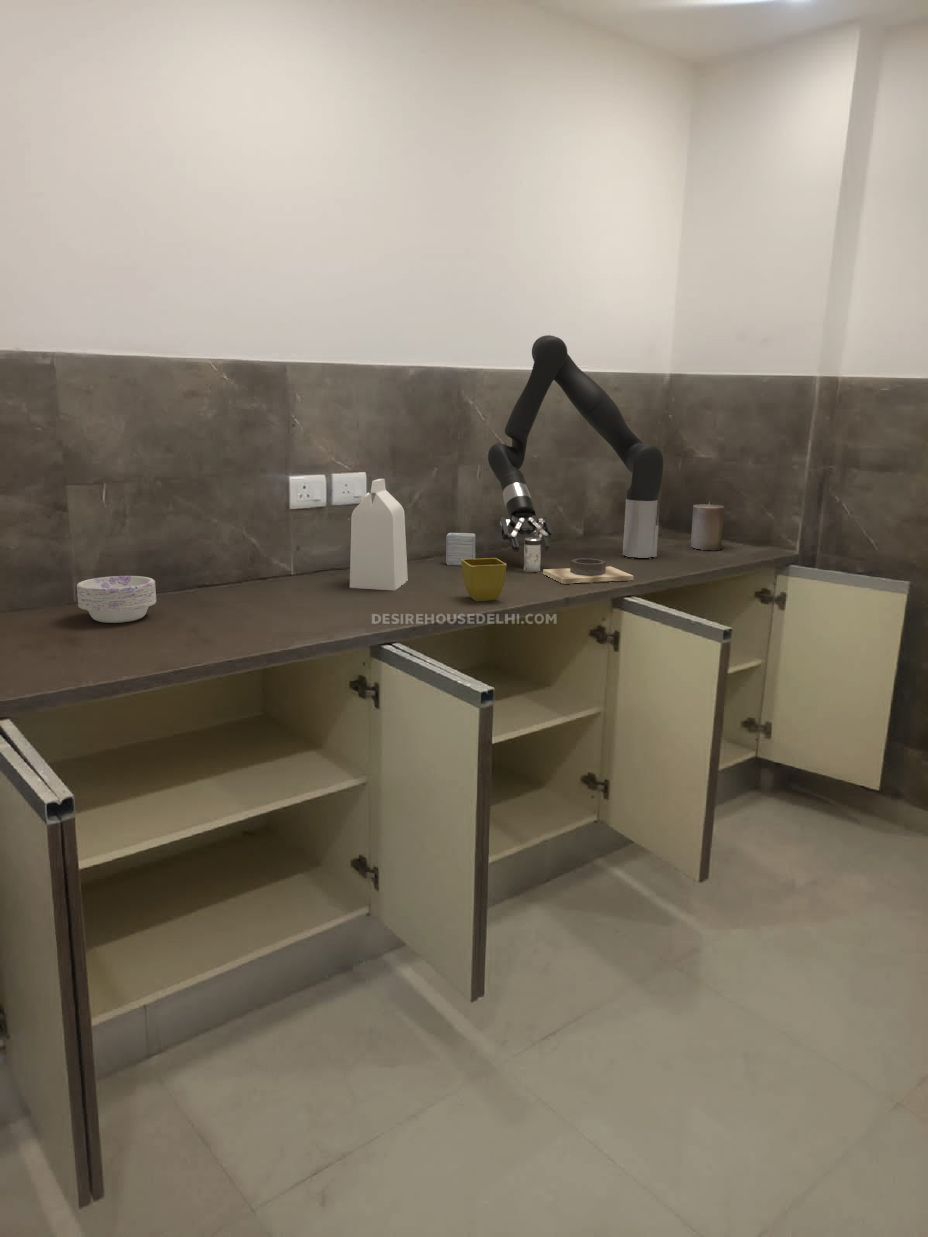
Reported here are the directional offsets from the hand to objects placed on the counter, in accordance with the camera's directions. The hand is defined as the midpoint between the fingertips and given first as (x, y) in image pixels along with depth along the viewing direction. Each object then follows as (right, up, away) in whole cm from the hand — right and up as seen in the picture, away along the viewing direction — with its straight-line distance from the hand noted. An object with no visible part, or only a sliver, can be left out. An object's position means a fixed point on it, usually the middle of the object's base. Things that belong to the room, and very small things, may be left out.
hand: (532, 550), depth 240 cm
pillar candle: (+59, +4, +43) cm, 73 cm away
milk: (-40, -10, -18) cm, 45 cm away
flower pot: (-14, -14, -32) cm, 38 cm away
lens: (0, -6, +1) cm, 6 cm away
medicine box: (-19, -4, +10) cm, 22 cm away
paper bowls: (-91, -19, -55) cm, 108 cm away
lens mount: (+14, -8, -6) cm, 18 cm away
